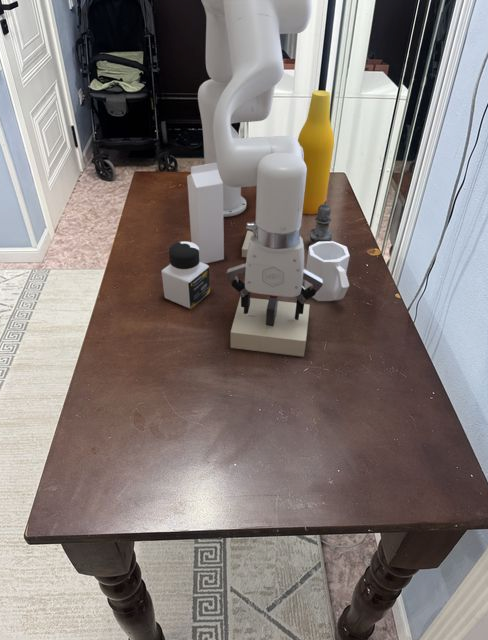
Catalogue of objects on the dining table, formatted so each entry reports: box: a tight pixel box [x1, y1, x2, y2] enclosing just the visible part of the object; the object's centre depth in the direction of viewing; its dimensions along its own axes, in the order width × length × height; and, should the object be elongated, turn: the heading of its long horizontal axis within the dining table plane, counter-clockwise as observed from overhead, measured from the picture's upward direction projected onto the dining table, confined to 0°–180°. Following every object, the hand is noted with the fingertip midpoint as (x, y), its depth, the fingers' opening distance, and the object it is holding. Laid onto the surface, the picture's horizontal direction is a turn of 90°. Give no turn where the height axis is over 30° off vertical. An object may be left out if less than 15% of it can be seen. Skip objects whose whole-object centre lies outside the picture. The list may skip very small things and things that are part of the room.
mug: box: [303, 240, 351, 302], centre depth 103 cm, size 12×9×10 cm
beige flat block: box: [230, 296, 311, 358], centre depth 96 cm, size 14×11×4 cm
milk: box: [186, 163, 225, 264], centre depth 109 cm, size 6×6×22 cm
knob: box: [266, 295, 279, 326], centre depth 93 cm, size 5×2×4 cm, turn 170°
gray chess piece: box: [308, 200, 334, 248], centre depth 117 cm, size 6×6×12 cm
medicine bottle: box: [161, 240, 211, 310], centre depth 101 cm, size 7×7×12 cm
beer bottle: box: [297, 90, 335, 216], centre depth 126 cm, size 9×9×29 cm
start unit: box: [241, 230, 253, 258], centre depth 119 cm, size 12×10×4 cm
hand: (271, 312), depth 94 cm, fingers open, 9 cm apart
